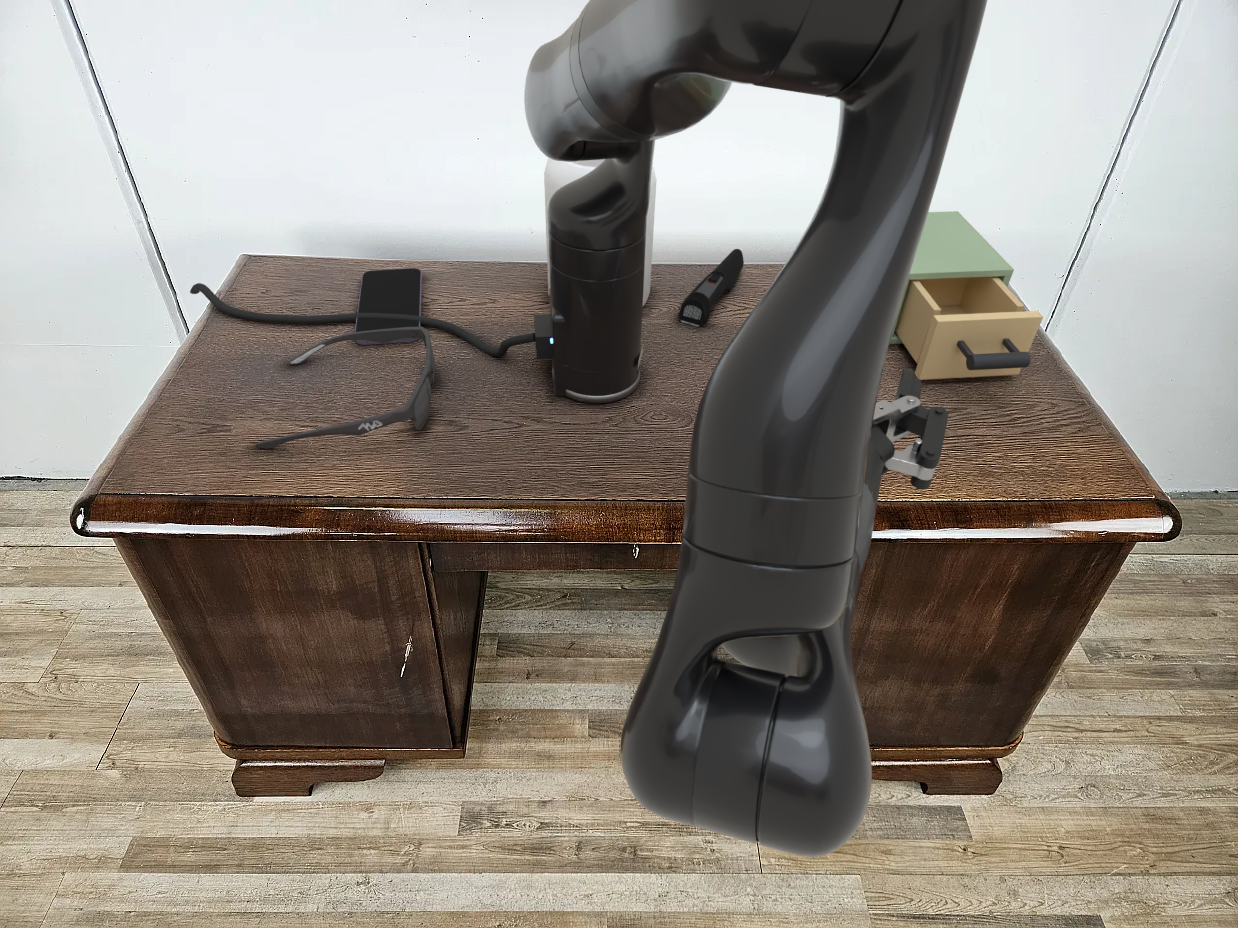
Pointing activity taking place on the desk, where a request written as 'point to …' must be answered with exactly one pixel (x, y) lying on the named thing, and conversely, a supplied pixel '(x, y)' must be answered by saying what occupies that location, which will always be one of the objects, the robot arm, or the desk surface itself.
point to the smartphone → (389, 300)
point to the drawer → (965, 328)
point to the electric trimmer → (711, 290)
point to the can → (570, 171)
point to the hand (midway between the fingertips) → (844, 368)
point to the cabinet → (953, 254)
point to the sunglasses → (412, 410)
